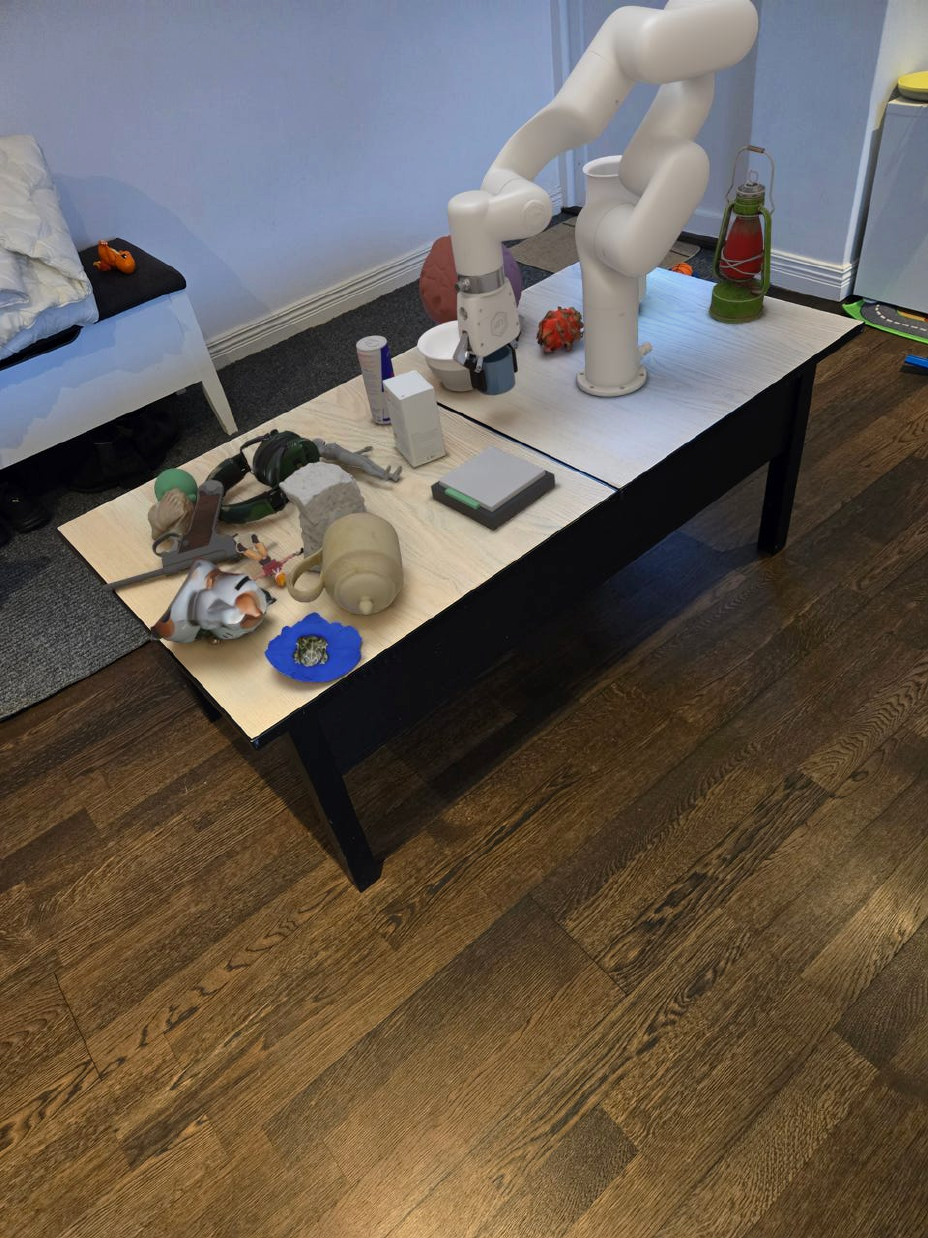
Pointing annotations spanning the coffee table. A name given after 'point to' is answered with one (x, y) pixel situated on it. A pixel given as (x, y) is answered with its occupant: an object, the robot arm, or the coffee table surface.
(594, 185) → the vase
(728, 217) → the lantern
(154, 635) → the lucky cat figurine
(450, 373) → the bowl
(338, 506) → the decorative stone
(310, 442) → the headphones
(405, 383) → the small box
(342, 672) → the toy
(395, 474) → the action figure
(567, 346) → the dragon fruit
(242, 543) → the action figure
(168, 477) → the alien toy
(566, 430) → the coffee table surface
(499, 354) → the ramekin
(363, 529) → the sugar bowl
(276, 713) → the coffee table surface
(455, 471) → the scale
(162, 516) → the seashell
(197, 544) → the handgun
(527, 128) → the robot arm
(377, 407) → the beverage can
